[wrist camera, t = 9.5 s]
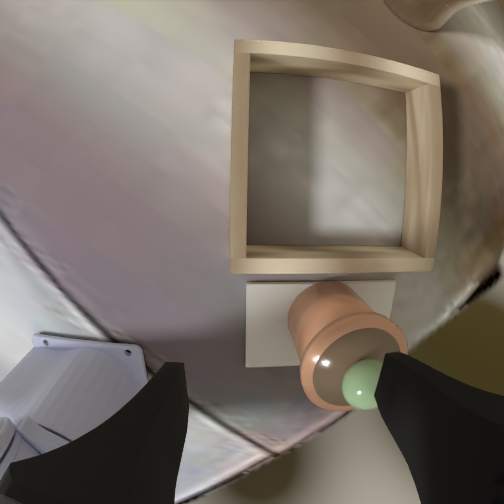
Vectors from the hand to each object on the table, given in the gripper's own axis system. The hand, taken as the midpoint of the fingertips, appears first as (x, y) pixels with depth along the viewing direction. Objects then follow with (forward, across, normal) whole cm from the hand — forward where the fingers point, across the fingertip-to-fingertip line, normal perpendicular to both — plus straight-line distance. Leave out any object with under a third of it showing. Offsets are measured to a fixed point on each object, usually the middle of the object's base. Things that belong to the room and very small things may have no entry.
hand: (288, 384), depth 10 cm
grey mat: (+9, -4, +2) cm, 11 cm away
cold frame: (+9, -4, -8) cm, 13 cm away
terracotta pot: (+9, -4, +2) cm, 10 cm away
